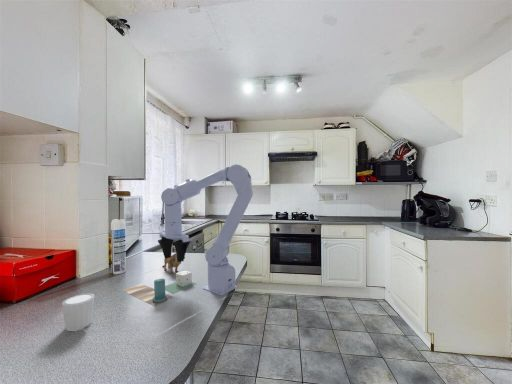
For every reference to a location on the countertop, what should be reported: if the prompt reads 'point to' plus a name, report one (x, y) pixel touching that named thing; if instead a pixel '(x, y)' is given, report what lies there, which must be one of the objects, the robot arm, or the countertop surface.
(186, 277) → the die
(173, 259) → the lion figurine
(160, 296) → the pawn
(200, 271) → the countertop surface
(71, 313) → the white cylinder
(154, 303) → the track
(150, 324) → the countertop surface
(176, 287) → the felt pad
